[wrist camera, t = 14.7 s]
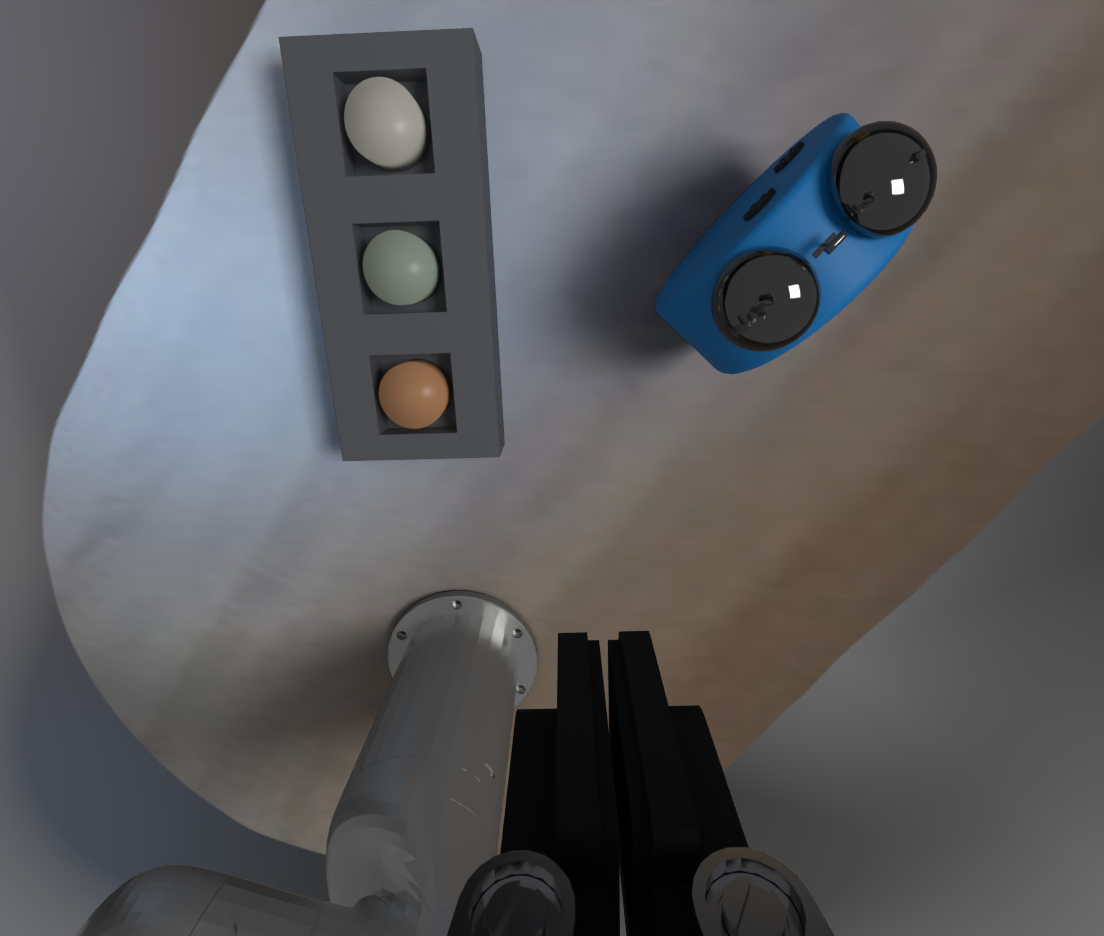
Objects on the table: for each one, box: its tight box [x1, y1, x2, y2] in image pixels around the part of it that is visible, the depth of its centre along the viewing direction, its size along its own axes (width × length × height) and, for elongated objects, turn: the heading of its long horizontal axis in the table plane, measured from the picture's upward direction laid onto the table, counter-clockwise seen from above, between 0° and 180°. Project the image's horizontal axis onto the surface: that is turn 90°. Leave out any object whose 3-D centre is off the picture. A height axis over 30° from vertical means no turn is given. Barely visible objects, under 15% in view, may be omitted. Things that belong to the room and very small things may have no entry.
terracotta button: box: [379, 358, 452, 429], centre depth 38 cm, size 4×4×2 cm
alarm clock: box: [655, 113, 937, 374], centre depth 31 cm, size 13×6×15 cm, turn 139°
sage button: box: [363, 230, 442, 305], centre depth 36 cm, size 4×4×2 cm
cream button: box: [344, 77, 430, 172], centre depth 33 cm, size 4×4×2 cm
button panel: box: [279, 28, 505, 461], centre depth 37 cm, size 25×11×4 cm, turn 2°
